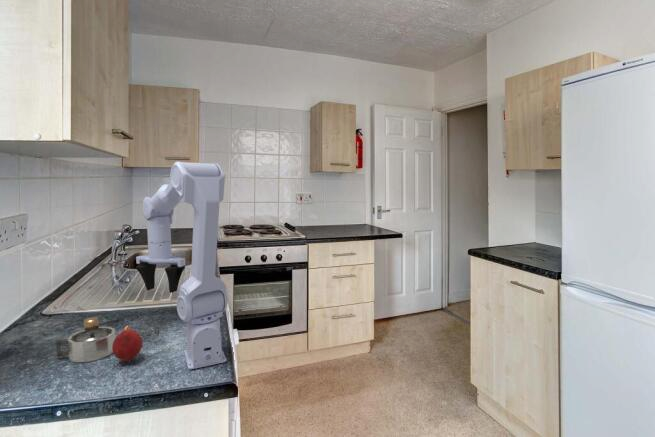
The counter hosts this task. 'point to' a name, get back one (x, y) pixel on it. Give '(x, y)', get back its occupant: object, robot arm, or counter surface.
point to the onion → (127, 344)
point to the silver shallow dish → (87, 346)
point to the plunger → (91, 330)
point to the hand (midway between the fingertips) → (161, 290)
